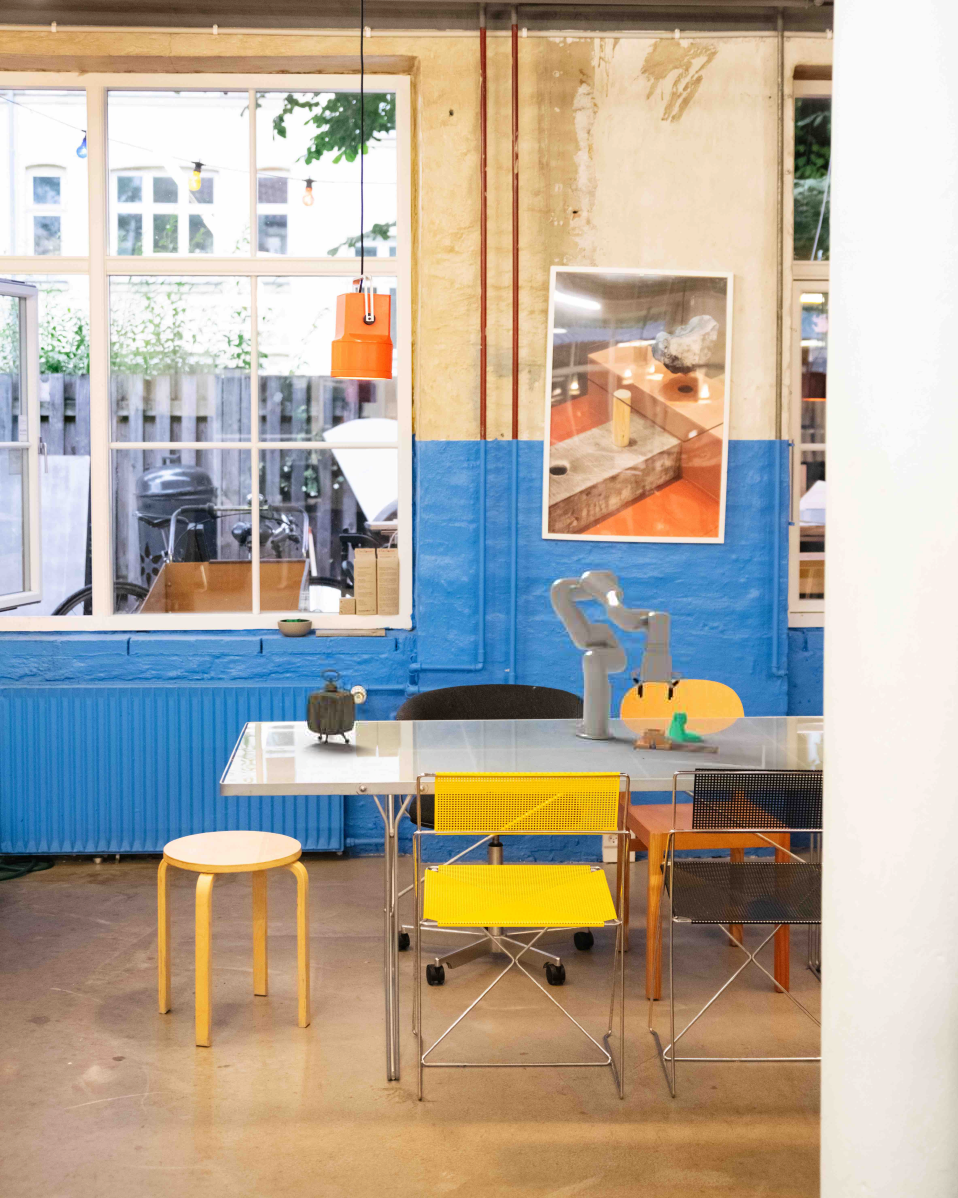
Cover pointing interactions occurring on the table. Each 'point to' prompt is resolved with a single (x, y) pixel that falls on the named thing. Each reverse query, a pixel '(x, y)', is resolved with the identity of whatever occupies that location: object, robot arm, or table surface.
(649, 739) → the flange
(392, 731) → the table surface
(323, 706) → the tabletop clock
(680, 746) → the board
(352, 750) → the table surface
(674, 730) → the camera mount
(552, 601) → the robot arm
